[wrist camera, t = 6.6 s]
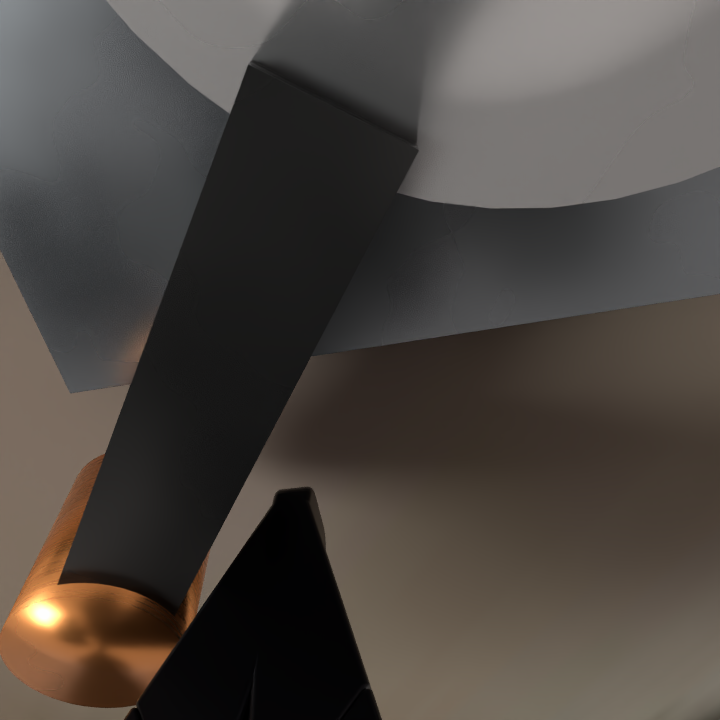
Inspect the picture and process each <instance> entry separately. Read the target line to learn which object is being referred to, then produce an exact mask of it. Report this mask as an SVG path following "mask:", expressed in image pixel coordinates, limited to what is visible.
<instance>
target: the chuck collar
mask: <svg viewBox="0 0 720 720" xmlns="http://www.w3.org/2000/svg"><path fill="white" fill-rule="evenodd" d="M106 1H107V2H108V3H109V4H110V6H111V7H112V8H113V9H114V10H115V11H116V12H117V14H118V15H119V16H120V17H121V18H122V19H123V21H124V22H125V23H126V24H127V25H128V26H129V27H130V29H131V30H132V31H133V32H134V33H135V34H136V35H137V36H138V37H139V38H140V39H141V40H143V41H144V42H145V43H146V44H147V45H148V46H149V47H150V48H151V49H152V50H153V51H154V52H156V53H157V54H158V55H159V56H160V57H161V58H162V59H163V60H164V61H165V62H166V63H167V64H169V65H170V66H171V67H172V68H173V69H174V70H175V71H176V72H177V73H178V74H179V75H180V76H181V77H183V78H184V79H185V80H186V81H187V82H188V83H189V84H190V85H191V86H192V87H194V88H195V89H196V90H198V91H199V92H201V93H202V94H203V95H205V96H206V97H207V98H209V99H210V100H212V101H213V102H214V103H216V104H217V105H218V106H220V107H221V108H223V109H224V110H225V111H227V112H228V113H229V114H230V115H229V118H228V121H227V123H226V126H225V129H224V132H223V134H222V137H221V140H220V142H219V145H218V148H217V151H216V153H215V156H214V159H213V162H212V164H211V167H210V170H209V172H208V175H207V178H206V181H205V183H204V186H203V189H202V192H201V194H200V197H199V200H198V202H197V205H196V208H195V211H194V213H193V216H192V219H191V221H190V224H189V227H188V230H187V232H186V235H185V238H184V241H183V243H182V246H181V249H180V251H179V254H178V257H177V260H176V262H175V265H174V268H173V271H172V273H171V276H170V279H169V281H168V284H167V287H166V290H165V292H164V295H163V298H162V300H161V303H160V306H159V309H158V311H157V314H156V317H155V320H154V322H153V325H152V328H151V330H150V333H149V336H148V339H147V341H146V344H145V347H144V350H143V352H142V355H141V358H140V360H139V363H138V366H137V369H136V371H135V374H134V377H133V379H132V382H131V385H130V388H129V390H128V393H127V396H126V399H125V401H124V404H123V407H122V409H121V412H120V415H119V418H118V420H117V423H116V426H115V428H114V431H113V434H112V437H111V439H110V442H109V445H108V448H107V450H106V453H105V454H103V455H101V456H99V457H97V458H95V459H93V460H92V461H91V462H89V463H88V464H87V465H86V466H85V467H84V468H83V469H82V470H81V472H80V473H79V474H78V476H77V478H76V480H75V482H74V484H73V486H72V488H71V490H70V492H69V494H68V496H67V498H66V500H65V502H64V504H63V507H62V509H61V511H60V513H59V515H58V517H57V519H56V521H55V523H54V525H53V527H52V529H51V531H50V533H49V535H48V537H47V539H46V541H45V543H44V545H43V547H42V549H41V551H40V553H39V555H38V557H37V559H36V561H35V563H34V565H33V567H32V569H31V572H30V574H29V576H28V578H27V580H26V582H25V584H24V586H23V588H22V590H21V592H20V594H19V596H18V598H17V600H16V602H15V604H14V606H13V608H12V610H11V612H10V614H9V616H8V618H7V620H6V622H5V624H4V626H3V628H2V631H1V633H0V654H1V657H2V659H3V661H4V663H5V664H6V666H7V667H8V669H9V670H10V671H11V672H12V673H13V674H14V675H15V676H16V677H17V678H18V679H19V680H21V681H22V682H23V683H25V684H26V685H28V686H29V687H31V688H32V689H34V690H36V691H38V692H40V693H42V694H44V695H47V696H49V697H51V698H54V699H57V700H60V701H63V702H67V703H71V704H76V705H81V706H88V707H99V708H117V707H127V706H133V705H136V702H137V700H138V699H139V697H140V696H141V694H142V693H143V691H144V690H145V689H146V687H147V686H148V684H149V683H150V681H151V680H152V678H153V677H154V675H155V674H156V673H157V671H158V670H159V668H160V667H161V665H162V664H163V662H164V661H165V660H166V658H167V657H168V655H169V654H170V652H171V651H172V649H173V648H174V647H175V645H176V644H177V642H178V641H179V639H180V638H181V636H182V635H183V633H184V632H185V631H186V629H187V628H188V626H189V625H190V623H191V622H192V620H193V619H194V618H195V616H196V614H197V609H198V604H199V600H200V595H201V590H202V586H203V581H204V576H205V571H206V567H207V562H208V557H209V553H210V548H211V546H212V544H213V542H214V540H215V539H216V537H217V535H218V533H219V531H220V529H221V527H222V525H223V523H224V521H225V519H226V518H227V516H228V514H229V512H230V510H231V508H232V506H233V504H234V502H235V500H236V498H237V497H238V495H239V493H240V491H241V489H242V487H243V485H244V483H245V481H246V479H247V478H248V476H249V474H250V472H251V470H252V468H253V466H254V464H255V462H256V460H257V458H258V457H259V455H260V453H261V451H262V449H263V447H264V445H265V443H266V441H267V439H268V437H269V436H270V434H271V432H272V430H273V428H274V426H275V424H276V422H277V420H278V418H279V416H280V415H281V413H282V411H283V409H284V407H285V405H286V403H287V401H288V399H289V397H290V396H291V394H292V392H293V390H294V388H295V386H296V384H297V382H298V380H299V378H300V376H301V375H302V373H303V371H304V369H305V367H306V365H307V363H308V361H309V359H310V357H311V355H312V354H313V352H314V350H315V348H316V346H317V344H318V342H319V340H320V338H321V336H322V334H323V333H324V331H325V329H326V327H327V325H328V323H329V321H330V319H331V317H332V315H333V313H334V312H335V310H336V308H337V306H338V304H339V302H340V300H341V298H342V296H343V294H344V293H345V291H346V289H347V287H348V285H349V283H350V281H351V279H352V277H353V275H354V273H355V272H356V270H357V268H358V266H359V264H360V262H361V260H362V258H363V256H364V254H365V252H366V251H367V249H368V247H369V245H370V243H371V241H372V239H373V237H374V235H375V233H376V231H377V230H378V228H379V226H380V224H381V222H382V220H383V218H384V216H385V214H386V212H387V210H388V209H389V207H390V205H391V203H392V201H393V199H394V197H395V195H396V193H400V194H404V195H408V196H412V197H416V198H419V199H423V200H427V201H432V202H441V203H449V204H458V205H466V206H475V207H483V208H554V207H562V206H569V205H576V204H583V203H590V202H598V201H605V200H612V199H618V198H621V197H625V196H629V195H633V194H637V193H640V192H644V191H648V190H652V189H656V188H659V187H663V186H667V185H671V184H675V183H678V182H681V181H684V180H687V179H689V178H692V177H694V176H697V175H699V174H702V173H705V172H707V171H710V170H712V169H715V168H718V167H720V0H106Z"/></svg>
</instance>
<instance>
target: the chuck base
mask: <svg viewBox="0 0 720 720" xmlns="http://www.w3.org/2000/svg"><path fill="white" fill-rule="evenodd" d="M229 115H230V114H229V113H228V112H227V111H225V110H224V109H223V108H221V107H220V106H218V105H217V104H216V103H214V102H213V101H212V100H210V99H209V98H207V97H206V96H205V95H203V94H202V93H201V92H199V91H198V90H196V89H195V88H194V87H192V86H191V85H190V84H189V83H188V82H187V81H186V80H185V79H184V78H183V77H181V76H180V75H179V74H178V73H177V72H176V71H175V70H174V69H173V68H172V67H171V66H170V65H169V64H167V63H166V62H165V61H164V60H163V59H162V58H161V57H160V56H159V55H158V54H157V53H156V52H154V51H153V50H152V49H151V48H150V47H149V46H148V45H147V44H146V43H145V42H144V41H143V40H141V39H140V38H139V37H138V36H137V35H136V34H135V33H134V32H133V31H132V30H131V29H130V27H129V26H128V25H127V24H126V23H125V22H124V21H123V19H122V18H121V17H120V16H119V15H118V14H117V12H116V11H115V10H114V9H113V8H112V7H111V6H110V4H109V3H108V2H107V1H106V0H0V250H1V252H2V254H3V256H4V258H5V260H6V262H7V264H8V266H9V268H10V271H11V273H12V275H13V277H14V279H15V281H16V283H17V285H18V287H19V289H20V291H21V293H22V295H23V297H24V299H25V301H26V303H27V305H28V307H29V310H30V312H31V314H32V316H33V318H34V320H35V322H36V324H37V326H38V328H39V330H40V332H41V334H42V336H43V338H44V340H45V342H46V344H47V346H48V349H49V351H50V353H51V355H52V357H53V359H54V361H55V363H56V365H57V367H58V369H59V371H60V373H61V375H62V377H63V379H64V381H65V383H66V386H67V388H68V390H69V392H70V393H75V392H82V391H88V390H95V389H102V388H108V387H115V386H121V385H128V384H131V382H132V379H133V377H134V374H135V371H136V369H137V366H138V363H139V360H140V358H141V355H142V352H143V350H144V347H145V344H146V341H147V339H148V336H149V333H150V330H151V328H152V325H153V322H154V320H155V317H156V314H157V311H158V309H159V306H160V303H161V300H162V298H163V295H164V292H165V290H166V287H167V284H168V281H169V279H170V276H171V273H172V271H173V268H174V265H175V262H176V260H177V257H178V254H179V251H180V249H181V246H182V243H183V241H184V238H185V235H186V232H187V230H188V227H189V224H190V221H191V219H192V216H193V213H194V211H195V208H196V205H197V202H198V200H199V197H200V194H201V192H202V189H203V186H204V183H205V181H206V178H207V175H208V172H209V170H210V167H211V164H212V162H213V159H214V156H215V153H216V151H217V148H218V145H219V142H220V140H221V137H222V134H223V132H224V129H225V126H226V123H227V121H228V118H229ZM716 294H720V167H718V168H715V169H712V170H710V171H707V172H705V173H702V174H699V175H697V176H694V177H692V178H689V179H687V180H684V181H681V182H678V183H675V184H671V185H667V186H663V187H659V188H656V189H652V190H648V191H644V192H640V193H637V194H633V195H629V196H625V197H621V198H618V199H612V200H605V201H598V202H590V203H583V204H576V205H569V206H562V207H554V208H483V207H475V206H466V205H458V204H449V203H441V202H432V201H427V200H423V199H419V198H416V197H412V196H408V195H404V194H400V193H396V195H395V197H394V199H393V201H392V203H391V205H390V207H389V209H388V210H387V212H386V214H385V216H384V218H383V220H382V222H381V224H380V226H379V228H378V230H377V231H376V233H375V235H374V237H373V239H372V241H371V243H370V245H369V247H368V249H367V251H366V252H365V254H364V256H363V258H362V260H361V262H360V264H359V266H358V268H357V270H356V272H355V273H354V275H353V277H352V279H351V281H350V283H349V285H348V287H347V289H346V291H345V293H344V294H343V296H342V298H341V300H340V302H339V304H338V306H337V308H336V310H335V312H334V313H333V315H332V317H331V319H330V321H329V323H328V325H327V327H326V329H325V331H324V333H323V334H322V336H321V338H320V340H319V342H318V344H317V346H316V348H315V350H314V352H313V354H312V355H311V356H317V355H324V354H330V353H337V352H343V351H350V350H356V349H363V348H369V347H376V346H383V345H389V344H396V343H402V342H409V341H415V340H422V339H428V338H435V337H441V336H448V335H454V334H461V333H467V332H474V331H481V330H487V329H494V328H500V327H507V326H513V325H520V324H526V323H533V322H539V321H546V320H552V319H559V318H566V317H572V316H579V315H585V314H592V313H598V312H605V311H611V310H618V309H624V308H631V307H637V306H644V305H650V304H657V303H664V302H670V301H677V300H683V299H690V298H696V297H703V296H709V295H716Z"/></svg>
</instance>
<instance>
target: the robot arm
mask: <svg viewBox="0 0 720 720" xmlns="http://www.w3.org/2000/svg"><path fill="white" fill-rule="evenodd" d="M136 706H137V708H132V709H131V710H130V711H129V713H128V714H127V716H126V717H125V719H124V720H382V718H381V715H380V712H379V709H378V706H377V703H376V700H375V697H374V694H373V691H372V690H371V687H370V683H369V680H368V677H367V674H366V671H365V668H364V665H363V662H362V659H361V656H360V653H359V650H358V647H357V644H356V641H355V638H354V634H353V631H352V628H351V625H350V622H349V619H348V616H347V613H346V610H345V607H344V604H343V601H342V598H341V595H340V592H339V589H338V586H337V583H336V580H335V577H334V574H333V571H332V568H331V565H330V562H329V559H328V556H327V553H326V541H325V531H324V526H323V522H322V518H321V515H320V511H319V507H318V503H317V500H316V496H315V493H314V491H313V489H312V488H310V487H300V488H291V489H282V490H279V491H277V492H276V494H275V496H274V500H273V504H272V506H271V507H270V509H269V510H268V512H267V513H266V515H265V516H264V517H263V519H262V520H261V522H260V523H259V525H258V526H257V528H256V529H255V531H254V532H253V533H252V535H251V536H250V538H249V539H248V541H247V542H246V544H245V545H244V546H243V548H242V549H241V551H240V552H239V554H238V555H237V557H236V558H235V560H234V561H233V562H232V564H231V565H230V567H229V568H228V570H227V571H226V573H225V574H224V575H223V577H222V578H221V580H220V581H219V583H218V584H217V586H216V587H215V589H214V590H213V591H212V593H211V594H210V596H209V597H208V599H207V600H206V602H205V603H204V604H203V606H202V607H201V609H200V610H199V612H198V613H197V615H196V616H195V618H194V619H193V620H192V622H191V623H190V625H189V626H188V628H187V629H186V631H185V632H184V633H183V635H182V636H181V638H180V639H179V641H178V642H177V644H176V645H175V647H174V648H173V649H172V651H171V652H170V654H169V655H168V657H167V658H166V660H165V661H164V662H163V664H162V665H161V667H160V668H159V670H158V671H157V673H156V674H155V675H154V677H153V678H152V680H151V681H150V683H149V684H148V686H147V687H146V689H145V690H144V691H143V693H142V694H141V696H140V697H139V699H138V700H137V702H136Z"/></svg>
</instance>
